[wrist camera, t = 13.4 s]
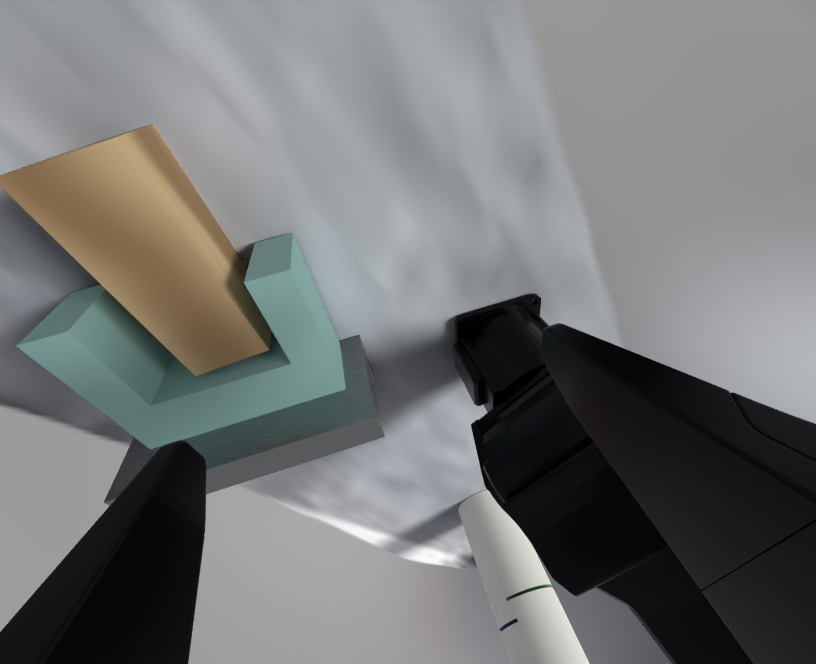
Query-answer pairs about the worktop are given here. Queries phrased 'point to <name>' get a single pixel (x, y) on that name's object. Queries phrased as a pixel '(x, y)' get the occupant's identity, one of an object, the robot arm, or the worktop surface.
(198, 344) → the oak peg
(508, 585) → the cylindrical container
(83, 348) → the slot block
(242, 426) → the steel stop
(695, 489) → the robot arm
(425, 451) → the worktop surface
